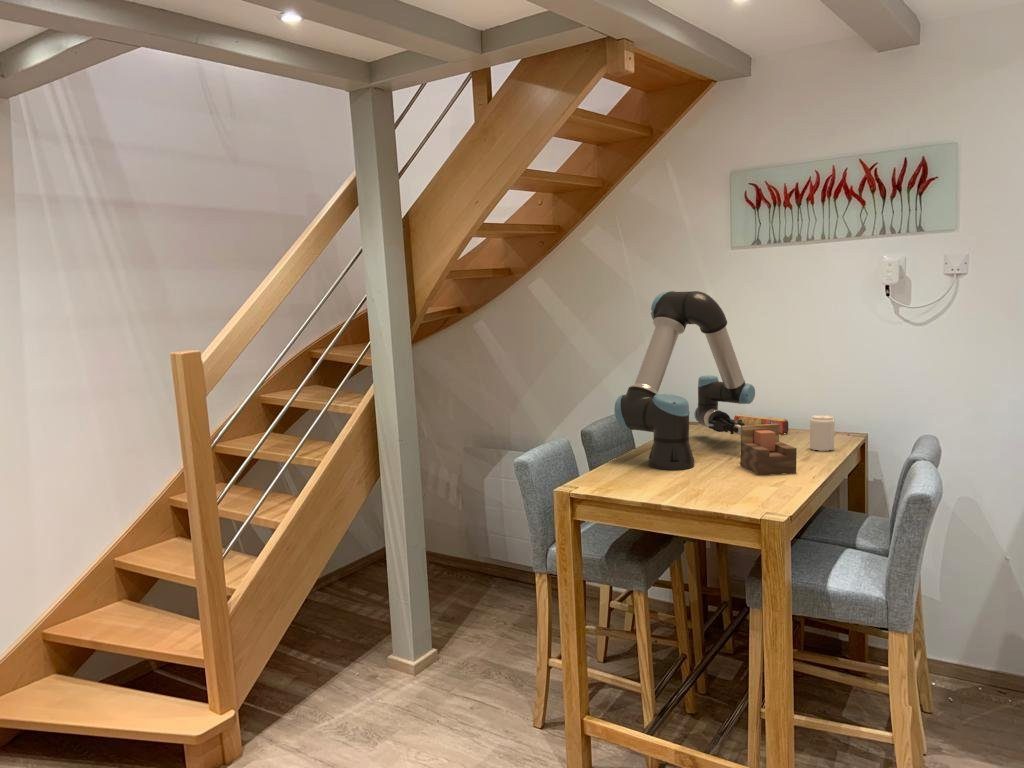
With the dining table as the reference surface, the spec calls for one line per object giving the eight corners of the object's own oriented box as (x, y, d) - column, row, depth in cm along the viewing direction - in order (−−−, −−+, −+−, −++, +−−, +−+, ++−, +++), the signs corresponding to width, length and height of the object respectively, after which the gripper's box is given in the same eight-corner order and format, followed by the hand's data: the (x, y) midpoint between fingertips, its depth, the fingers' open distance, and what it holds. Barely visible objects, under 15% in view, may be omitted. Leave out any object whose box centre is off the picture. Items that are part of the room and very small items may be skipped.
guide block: (740, 465, 267) (740, 425, 265) (775, 463, 268) (776, 423, 267) (758, 475, 253) (759, 433, 251) (796, 473, 255) (796, 431, 253)
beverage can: (811, 451, 285) (811, 418, 283) (808, 447, 293) (809, 414, 291) (835, 452, 283) (836, 418, 281) (832, 447, 291) (832, 414, 289)
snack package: (789, 433, 320) (789, 416, 319) (782, 436, 315) (783, 419, 314) (739, 428, 333) (739, 412, 333) (732, 430, 328) (732, 414, 328)
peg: (742, 443, 273) (742, 425, 273) (756, 442, 274) (756, 425, 273) (760, 451, 260) (760, 433, 259) (775, 450, 260) (775, 432, 260)
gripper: (734, 429, 302) (761, 441, 279) (700, 431, 301) (725, 443, 277) (734, 409, 301) (762, 420, 278) (700, 411, 300) (726, 422, 276)
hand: (744, 431), depth 278 cm, fingers closed
